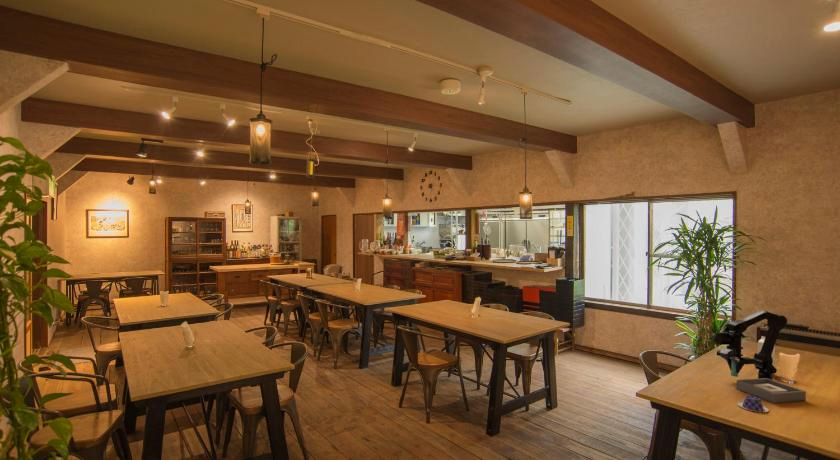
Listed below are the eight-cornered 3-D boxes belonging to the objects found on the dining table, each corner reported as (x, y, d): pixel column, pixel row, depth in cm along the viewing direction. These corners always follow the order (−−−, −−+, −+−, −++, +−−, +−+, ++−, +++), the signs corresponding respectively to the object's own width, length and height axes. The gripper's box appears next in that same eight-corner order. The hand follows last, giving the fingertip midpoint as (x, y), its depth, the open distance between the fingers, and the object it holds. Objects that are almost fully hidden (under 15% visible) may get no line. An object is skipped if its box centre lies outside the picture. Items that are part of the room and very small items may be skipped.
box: (766, 387, 238) (766, 378, 238) (805, 401, 218) (805, 391, 218) (736, 389, 234) (736, 380, 234) (773, 404, 214) (773, 393, 214)
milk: (767, 375, 257) (768, 338, 257) (757, 372, 263) (757, 336, 263) (774, 374, 259) (775, 338, 259) (764, 371, 265) (764, 335, 265)
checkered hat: (759, 415, 201) (759, 404, 201) (732, 405, 212) (732, 395, 212) (774, 411, 206) (774, 400, 206) (746, 402, 217) (746, 391, 217)
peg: (734, 374, 247) (734, 358, 247) (739, 376, 244) (739, 360, 244) (729, 374, 247) (729, 359, 247) (734, 376, 244) (735, 360, 244)
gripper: (709, 340, 253) (708, 367, 253) (738, 349, 235) (738, 378, 235) (724, 340, 255) (724, 366, 255) (755, 348, 237) (754, 377, 237)
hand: (734, 372), depth 245 cm, fingers closed on peg, 3 cm apart
